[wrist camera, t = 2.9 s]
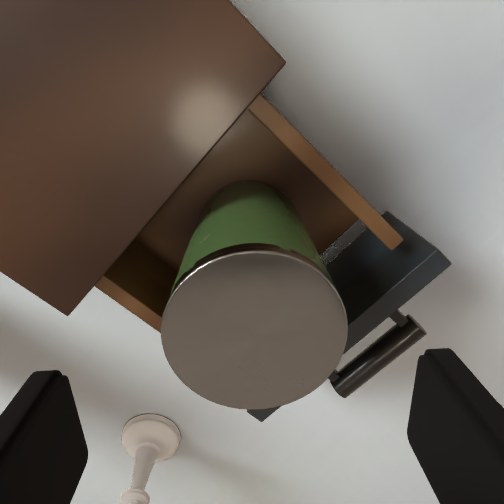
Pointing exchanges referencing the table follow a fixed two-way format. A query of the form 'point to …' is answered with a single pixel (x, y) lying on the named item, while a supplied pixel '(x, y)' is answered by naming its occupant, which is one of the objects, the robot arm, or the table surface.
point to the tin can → (253, 303)
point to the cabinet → (109, 124)
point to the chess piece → (147, 451)
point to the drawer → (317, 225)
